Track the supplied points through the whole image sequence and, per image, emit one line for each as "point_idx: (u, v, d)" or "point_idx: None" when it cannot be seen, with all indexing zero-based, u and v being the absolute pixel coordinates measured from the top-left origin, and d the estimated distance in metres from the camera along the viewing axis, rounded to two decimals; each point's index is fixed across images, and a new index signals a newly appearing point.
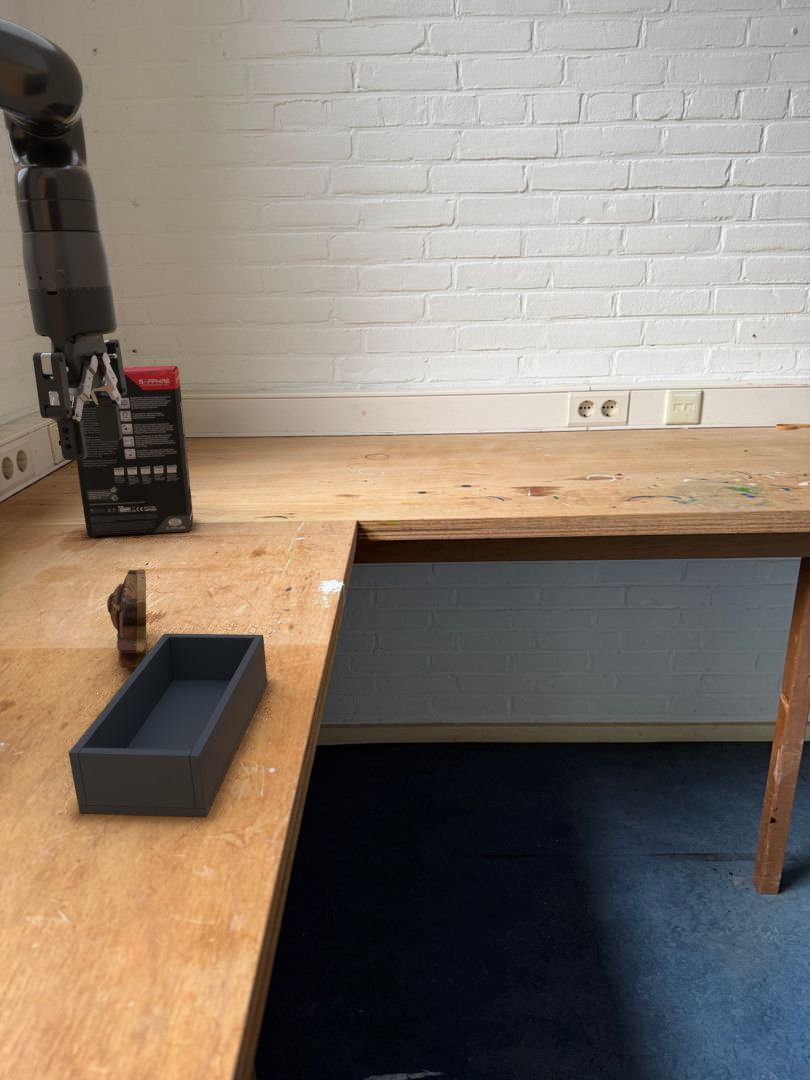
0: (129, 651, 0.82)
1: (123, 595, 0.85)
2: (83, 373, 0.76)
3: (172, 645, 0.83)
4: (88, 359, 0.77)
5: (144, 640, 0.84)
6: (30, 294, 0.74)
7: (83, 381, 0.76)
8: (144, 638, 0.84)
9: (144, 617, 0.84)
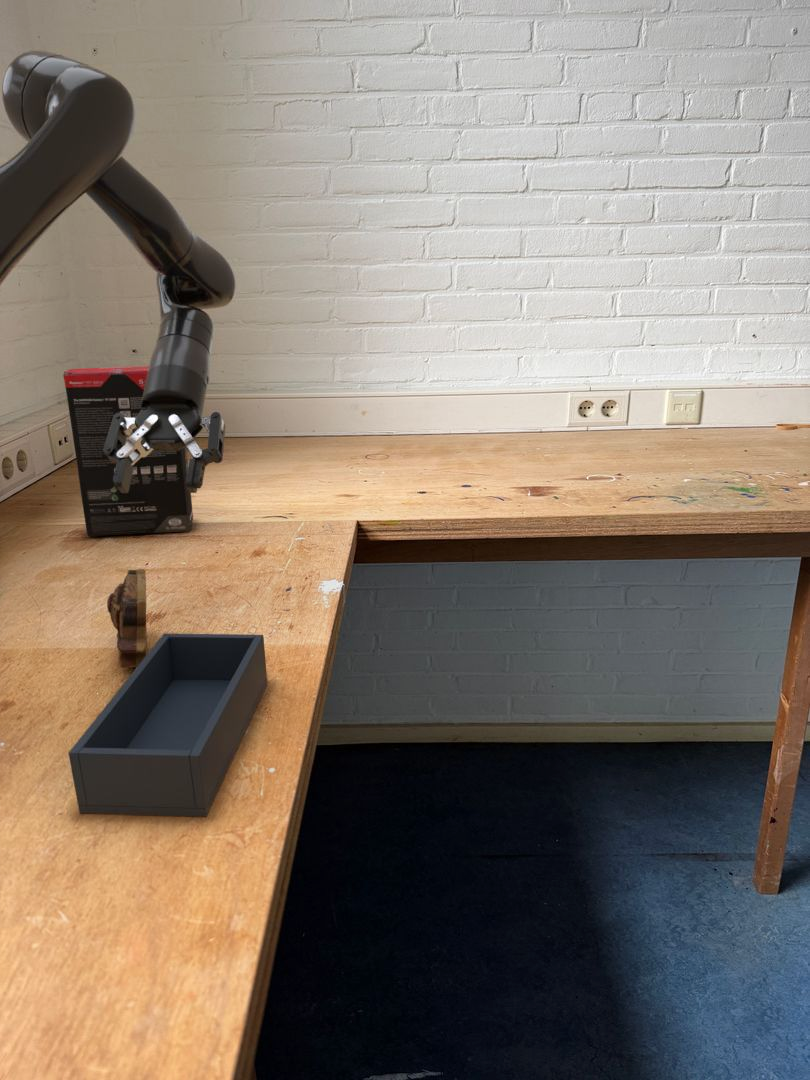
0: (129, 651, 0.82)
1: (123, 595, 0.85)
2: None
3: (172, 645, 0.83)
4: None
5: (144, 640, 0.84)
6: (190, 372, 1.00)
7: None
8: (144, 638, 0.84)
9: (144, 617, 0.84)
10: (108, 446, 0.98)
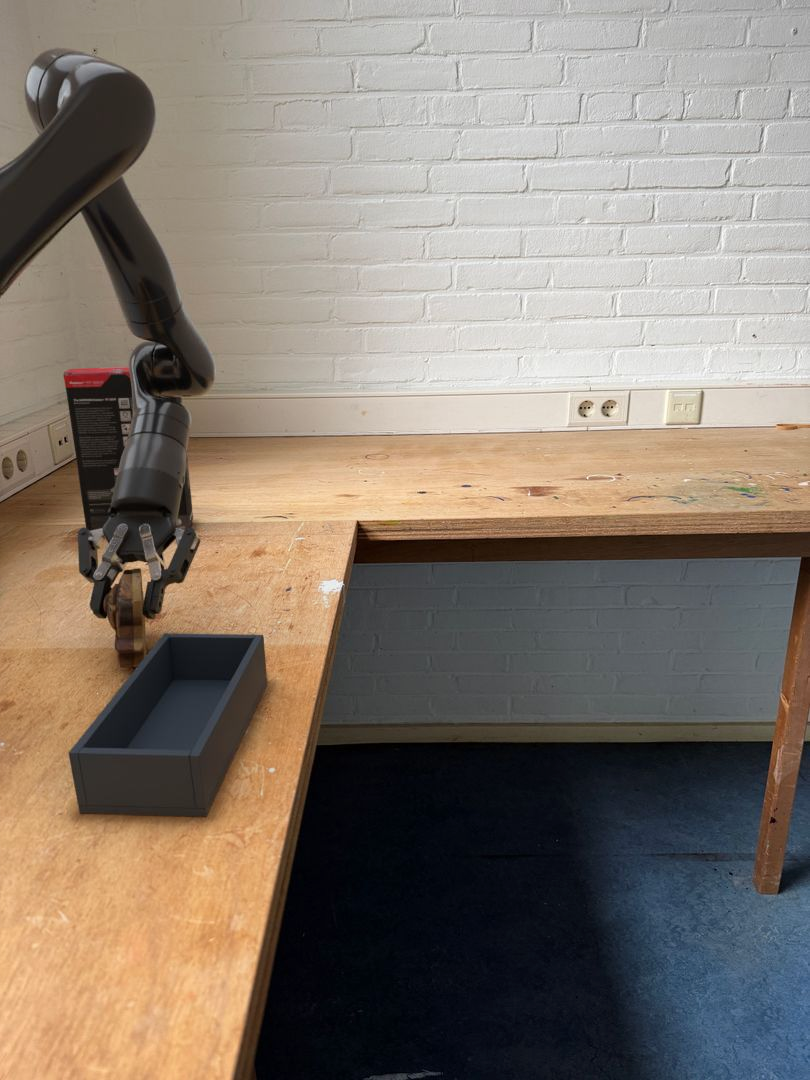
0: (126, 651, 0.82)
1: (118, 595, 0.85)
2: None
3: (172, 645, 0.83)
4: None
5: (141, 639, 0.83)
6: (163, 475, 0.91)
7: (163, 558, 0.91)
8: (141, 637, 0.84)
9: (140, 616, 0.84)
10: (83, 566, 0.88)
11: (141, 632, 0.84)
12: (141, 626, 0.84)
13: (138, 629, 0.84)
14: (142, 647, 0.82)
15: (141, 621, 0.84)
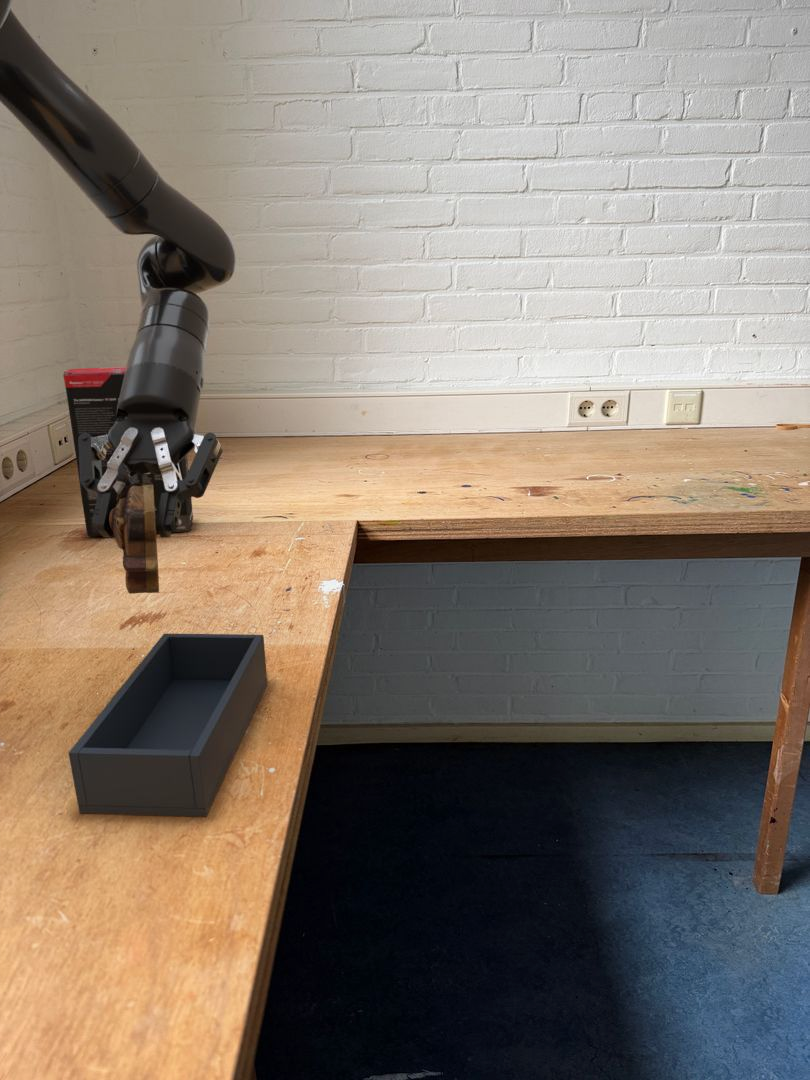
0: (137, 569, 0.68)
1: (127, 506, 0.71)
2: (177, 463, 0.78)
3: (172, 645, 0.83)
4: None
5: (155, 557, 0.70)
6: (179, 373, 0.78)
7: (179, 470, 0.78)
8: (155, 555, 0.71)
9: (153, 530, 0.70)
10: (85, 476, 0.75)
11: (154, 549, 0.71)
12: (154, 542, 0.71)
13: (151, 546, 0.71)
14: (156, 565, 0.69)
15: (154, 536, 0.70)
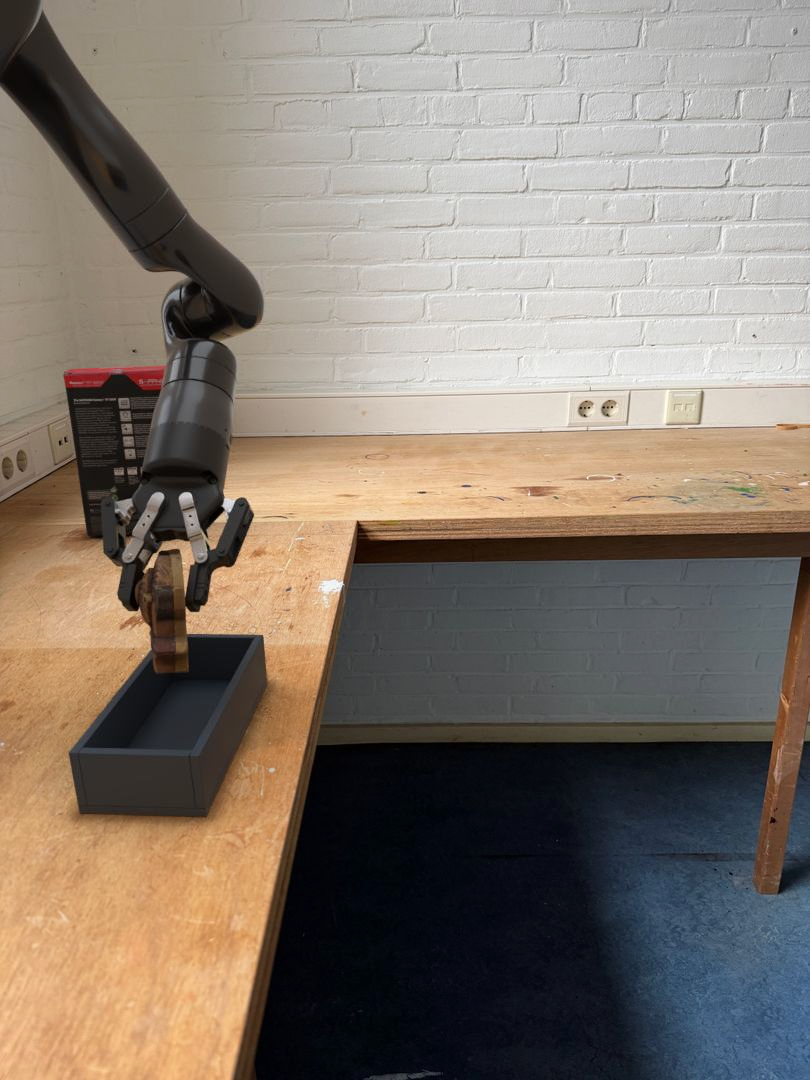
0: (167, 653, 0.64)
1: (155, 581, 0.66)
2: None
3: None
4: None
5: (185, 638, 0.65)
6: (208, 432, 0.73)
7: (208, 536, 0.73)
8: (184, 635, 0.66)
9: (183, 608, 0.65)
10: (109, 546, 0.70)
11: (184, 629, 0.66)
12: (184, 621, 0.66)
13: (180, 625, 0.66)
14: (186, 648, 0.64)
15: (184, 615, 0.66)
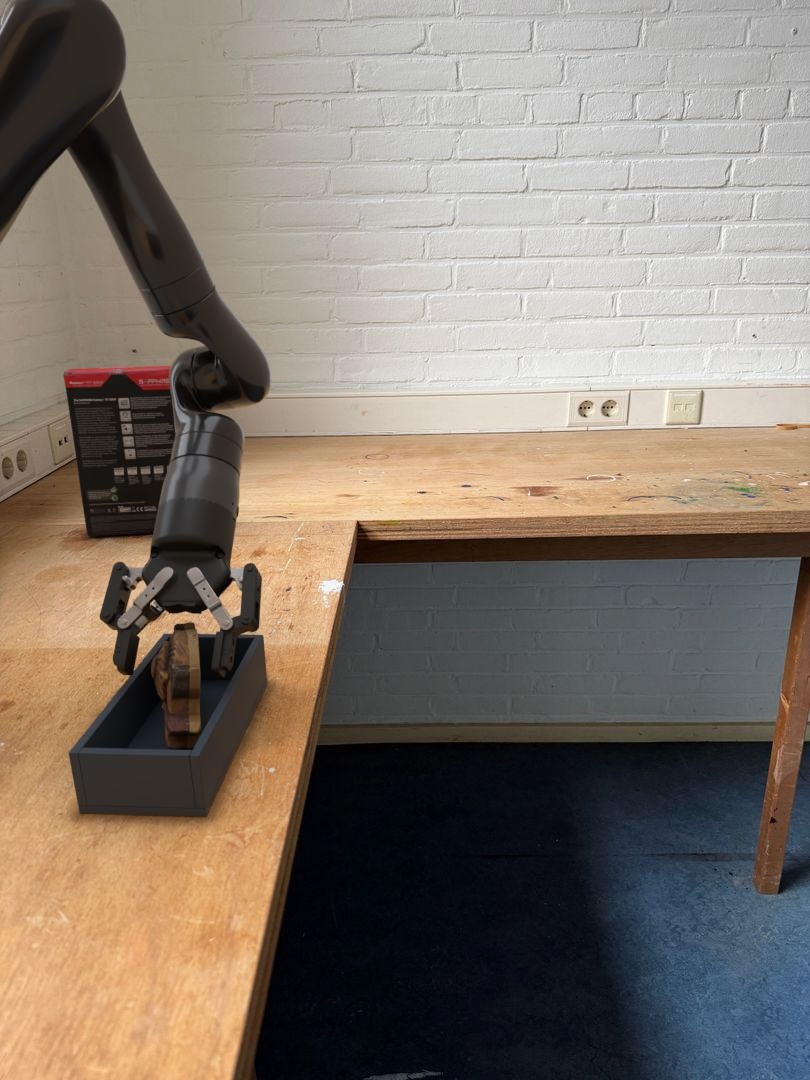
0: (180, 732, 0.66)
1: (172, 659, 0.69)
2: None
3: None
4: None
5: (198, 717, 0.68)
6: (215, 508, 0.75)
7: None
8: (198, 714, 0.68)
9: (198, 688, 0.68)
10: (106, 611, 0.73)
11: (198, 707, 0.68)
12: (198, 700, 0.68)
13: (194, 703, 0.68)
14: (199, 728, 0.67)
15: (198, 694, 0.68)
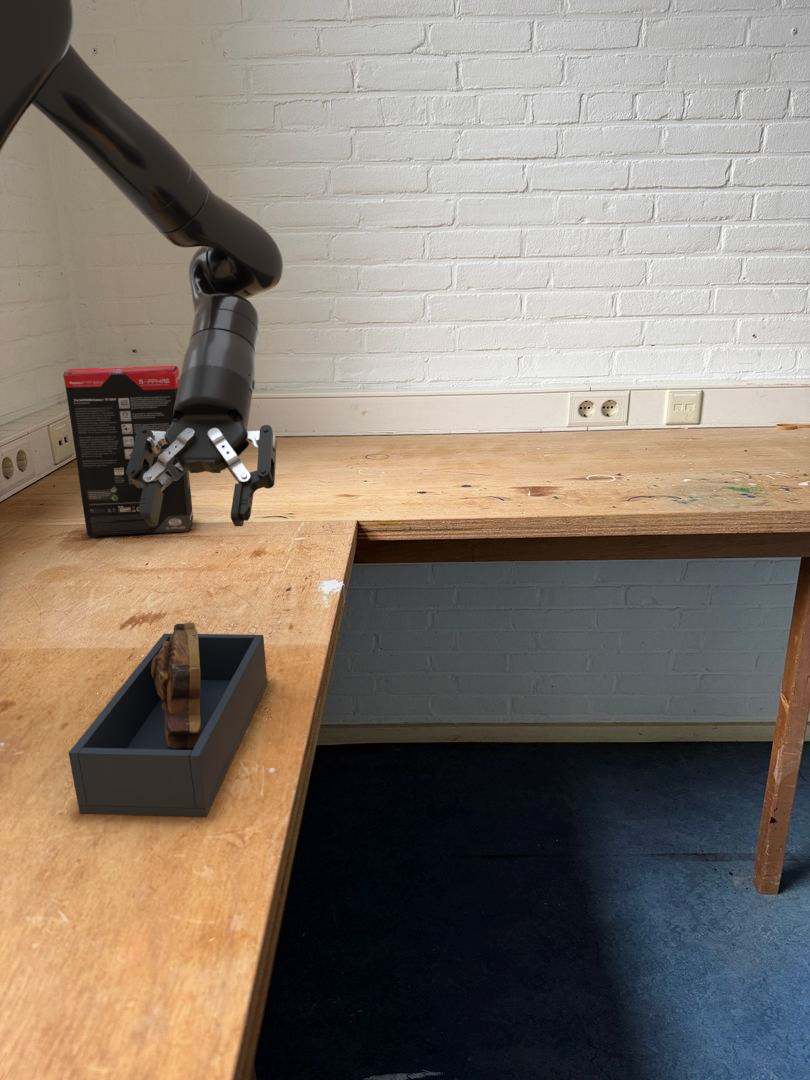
0: (180, 732, 0.66)
1: (172, 659, 0.69)
2: None
3: None
4: None
5: (198, 717, 0.68)
6: (233, 375, 0.81)
7: None
8: (198, 714, 0.68)
9: (198, 688, 0.68)
10: (132, 467, 0.78)
11: (198, 707, 0.68)
12: (198, 700, 0.68)
13: (194, 703, 0.68)
14: (199, 728, 0.67)
15: (198, 694, 0.68)
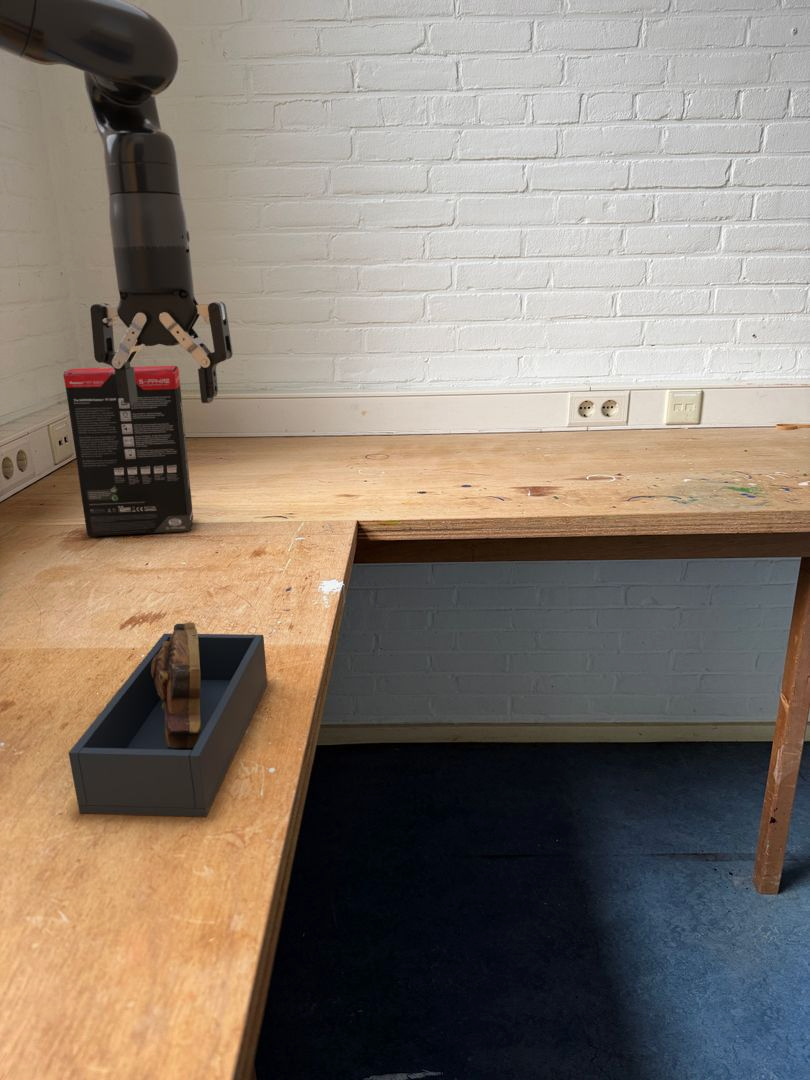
0: (180, 732, 0.66)
1: (172, 659, 0.69)
2: None
3: None
4: None
5: (198, 717, 0.68)
6: (168, 252, 0.79)
7: (196, 331, 0.86)
8: (198, 714, 0.68)
9: (198, 688, 0.68)
10: (99, 353, 0.84)
11: (198, 707, 0.68)
12: (198, 700, 0.68)
13: (194, 703, 0.68)
14: (199, 728, 0.67)
15: (198, 694, 0.68)
